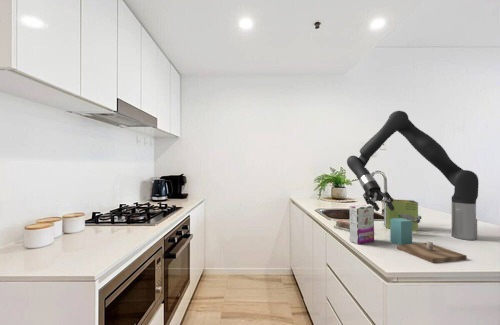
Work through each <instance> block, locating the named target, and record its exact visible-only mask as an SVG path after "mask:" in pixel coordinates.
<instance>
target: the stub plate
mask: <svg viewBox="0 0 500 325" xmlns="http://www.w3.org/2000/svg"><path fill="white" fill-rule="evenodd" d="M396 249H397V250H400V251H402V252H404V253H407V254H410V255H412V256H415V257H417V258H419V259H422V260H425V261H427V262H428V263H431V264H437V263H446V262H456V261H465V260H466V259H467V258H468V257H467V255H466V254H463V253H460V252H457V251H453V250H451V249H447V248H445V247H442V246H439V245H436V244H434V243H433V242H431V241H426V242H422V243H421V242H420V243H419V242H418V243H412V244H405V245H398V244H396Z"/></svg>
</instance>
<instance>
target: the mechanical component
mask: <svg viewBox="0 0 500 325" xmlns="http://www.w3.org/2000/svg"><path fill="white" fill-rule="evenodd" d="M404 217H406V218H405V219H407V220H411V221H412V223H418V224H420V223H421V220H422V215H419V214H418V215H417V217H416V218H414V217H413V215H406V214H399V215H398V218H403V219H404ZM413 220H417V221H416V222H415V221H413ZM412 226H413V225H412Z"/></svg>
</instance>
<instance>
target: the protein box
mask: <svg viewBox="0 0 500 325" xmlns="http://www.w3.org/2000/svg"><path fill="white" fill-rule="evenodd" d="M392 199H393V200H394V201H393V202H392V204H393V206H394V210H393V211H391V210H390V209H389V207H388V206H387V204H386V203H383V226H384V227H385V229H388V230H390V223H391V219H394V218H398V215H399V214H406V215H413V217H414V218H416V217H417V215H419V202H417V201H415V200H413V199H395V198H392ZM389 200H390V199H389ZM385 201H387V200H385ZM387 202H388V201H387ZM405 218H406V217H404V219H405ZM413 221H415V222H416V221H417V220H413ZM412 225H413V226H412V232H418V231H419V223H412Z"/></svg>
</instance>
